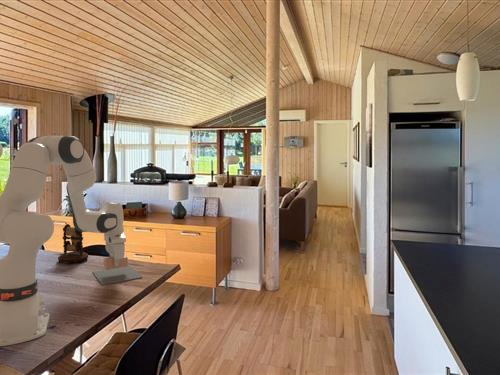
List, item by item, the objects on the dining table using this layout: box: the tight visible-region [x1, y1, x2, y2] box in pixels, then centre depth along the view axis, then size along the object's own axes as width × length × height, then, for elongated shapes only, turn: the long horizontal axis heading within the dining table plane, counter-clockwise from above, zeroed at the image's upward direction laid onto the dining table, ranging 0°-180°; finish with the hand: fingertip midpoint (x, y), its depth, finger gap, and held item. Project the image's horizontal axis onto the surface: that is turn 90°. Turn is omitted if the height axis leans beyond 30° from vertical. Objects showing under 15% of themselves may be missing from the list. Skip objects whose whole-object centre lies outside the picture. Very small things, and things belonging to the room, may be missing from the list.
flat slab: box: [92, 265, 143, 286], centre depth 171 cm, size 20×18×1 cm
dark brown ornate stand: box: [57, 223, 89, 264], centre depth 192 cm, size 15×15×20 cm
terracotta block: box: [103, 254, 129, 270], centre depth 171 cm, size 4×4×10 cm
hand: (114, 264), depth 170 cm, fingers closed on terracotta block, 4 cm apart
